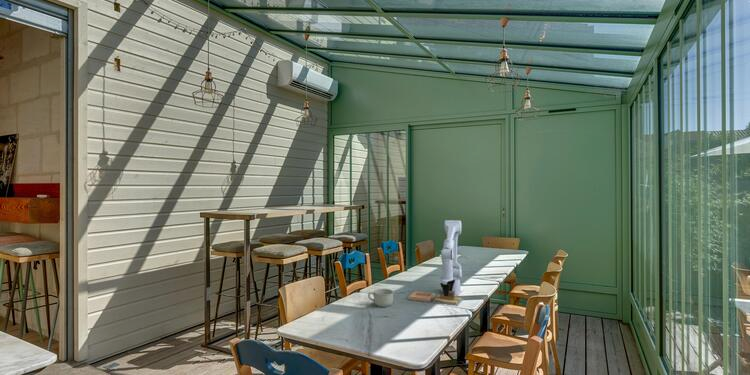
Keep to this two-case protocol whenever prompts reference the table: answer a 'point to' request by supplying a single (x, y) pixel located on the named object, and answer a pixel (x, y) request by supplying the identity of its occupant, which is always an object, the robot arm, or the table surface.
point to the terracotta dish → (421, 296)
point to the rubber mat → (450, 304)
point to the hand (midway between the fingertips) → (448, 294)
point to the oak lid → (447, 298)
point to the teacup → (382, 297)
